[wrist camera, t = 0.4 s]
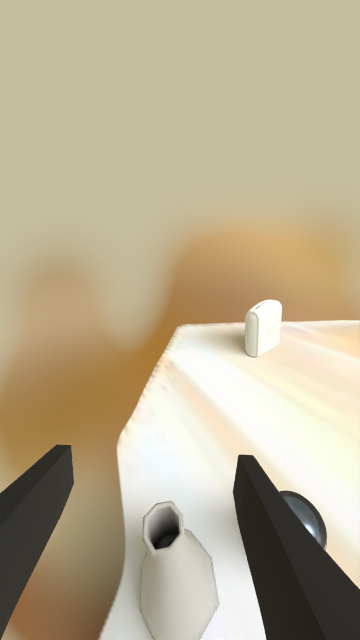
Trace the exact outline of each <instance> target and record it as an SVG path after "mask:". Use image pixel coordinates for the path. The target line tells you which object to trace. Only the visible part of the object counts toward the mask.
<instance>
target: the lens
mask: <svg viewBox="0 0 360 640" xmlns="http://www.w3.org/2000/svg"><path fill="white" fill-rule="evenodd" d="M279 493H280V494H281V495H282V497H283V498H284V499H285V501H286V502H287V503H288V505H289V506H290V507H291V509H292V510H293V511H294V513H295V514H296V515H297V517H298V518H299V519H300V520H301V522H302V523H303V524H304V525H305V527H306V528H307V529H308V530H309V532H310V533H311V534H312V535H313V536H314V538H315V539H316V540H317V541H318V543H319V544H320V545H321V546H322V547H323V549H324V550H325V551H326V545H327V533H326V527H325V524H324V521H323V519H322V517H321V515H320V514H319V512H318V511H317V509H316V508H315V507H314V506H313V504H312V503H311V502H309V501H308V500H307V499H306V498H304V497H303V496H301V495H300V494H297V493H295V492H292V491H280V492H279Z"/></svg>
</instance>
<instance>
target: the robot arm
mask: <svg viewBox="0 0 360 640" xmlns="http://www.w3.org/2000/svg"><path fill="white" fill-rule="evenodd" d="M73 479H74V478H73V466H72V453H71V445H56V446H55V447H53V448H52V449H51V450H50V451H49V452H48V453H46V454H45V455H44V456H43V457H42V458H41V459H39V460H38V461H37V462H36V463H35V464H34V465H33V466H32V467H30V468H29V469H28V470H27V471H26V472H25V473H24V474H22V475H21V476H20V477H19V478H18V479H17V480H15V481H14V482H13V483H12V484H11V485H9V486H8V487H7V488H6V489H5V490H4V491H2V492H1V493H0V640H1V638H2V636H3V633H4V631H5V629H6V626H7V624H8V622H9V619H10V617H11V615H12V613H13V610H14V609H15V606H16V604H17V602H18V600H19V598H20V596H21V594H22V592H23V590H24V588H25V586H26V583H27V582H28V580H29V578H30V576H31V574H32V572H33V570H34V568H35V566H36V564H37V562H38V560H39V558H40V556H41V554H42V552H43V550H44V548H45V546H46V544H47V542H48V540H49V538H50V536H51V534H52V532H53V530H54V528H55V526H56V524H57V522H58V520H59V518H60V516H61V514H62V512H63V509H64V507H65V505H66V502H67V500H68V497H69V494H70V492H71V489H72V486H73V484H74V480H73ZM233 495H234V501H235V508H236V514H237V520H238V524H239V528H240V533H241V536H242V540H243V544H244V548H245V552H246V556H247V560H248V564H249V568H250V572H251V576H252V580H253V583H254V587H255V591H256V595H257V599H258V603H259V607H260V611H261V616H262V620H263V625H264V629H265V634H266V640H360V589H359V588H358V587H357V586H356V585H355V584H354V583H353V582H352V581H351V579H350V578H349V577H348V576H347V575H346V574H345V573H344V572H343V570H342V569H341V568H340V567H339V566H338V565H337V564H336V563H335V561H334V560H333V559H332V558H331V557H330V556H329V554H328V553H327V552H326V551H325V550H324V549H323V547H322V546H321V545H320V544H319V543H318V541H317V540H316V539H315V538H314V536H313V535H312V534H311V533H310V532H309V530H308V529H307V528H306V527H305V525H304V524H303V523H302V522H301V520H300V519H299V518H298V517H297V515H296V514H295V513H294V511H293V510H292V509H291V507H290V506H289V505H288V503H287V502H286V501H285V499H284V498H283V497H282V495H281V494H280V493H279V491H278V490H277V489H276V487H275V486H274V484H273V483H272V482H271V480H270V479H269V477H268V476H267V474H266V473H265V472H264V470H263V469H262V467H261V466H260V464H259V463H258V461H257V460H256V459H255V457H254V456H253V455H239V456H238V462H237V469H236V475H235V482H234V488H233Z"/></svg>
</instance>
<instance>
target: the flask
mask: <svg viewBox="0 0 360 640" xmlns="http://www.w3.org/2000/svg"><path fill="white" fill-rule="evenodd" d="M142 539H143V542H144V543H145V545H146V547H147V548H148V552H147V554H146V556H145V558H144V560H143V563H142V580H141V603H140V611H141V613H142V615H143V617H144V620H145V622H146V624H147V626H148V628H149V630H150V632H151V635H152V637H153V639H154V640H200V638H201V636H202V635H203V633H204V631H205V629H206V627H207V626H208V624H209V622H210V620H211V618H212V617H213V615H214V613H215V611H216V609H217V608H218V606H219V599H218V593H217V588H216V582H215V576H214V570H213V564H212V558H211V557H210V555H209V554H208V553H207V551H206V550H205V549H204V548H203V546H202V545H201V544H200V542H199V541H198V540H197V539H196V537H195V536H194V535H193V533H192V532H191V531H189V530H186V529H184V526H183V515H182V513H181V512H180V511H179V509H178V508H177V507H176V506H175V504H174V503H173V502H172V501H168V502H163V503H157V504H155V506H154V507H153V508H152V509H151V510H150V511H149V512H148V513H147V514H146V515H145V516H144V517H143V537H142Z"/></svg>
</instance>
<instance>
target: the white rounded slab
mask: <svg viewBox="0 0 360 640" xmlns="http://www.w3.org/2000/svg"><path fill="white" fill-rule="evenodd" d="M281 314H282V306H281V304H280V303H279V301H275V300H265V301H262V302H260V303H259V304H257V305H255V306H253V307H252V308H251V309H250V310H249V311H248V312H247V314H246V329H245V350H246V352H247V354H248V355H250V356H252V357H259V356H261V355H263V354H264V353H266V352H267V351H269V350H270V349H272V348H273V347H275V346H276V345H278V343H279V340H280V327H281Z"/></svg>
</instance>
